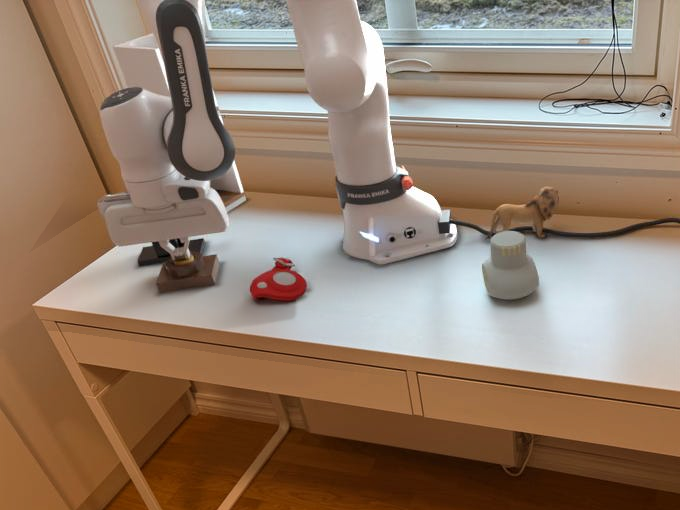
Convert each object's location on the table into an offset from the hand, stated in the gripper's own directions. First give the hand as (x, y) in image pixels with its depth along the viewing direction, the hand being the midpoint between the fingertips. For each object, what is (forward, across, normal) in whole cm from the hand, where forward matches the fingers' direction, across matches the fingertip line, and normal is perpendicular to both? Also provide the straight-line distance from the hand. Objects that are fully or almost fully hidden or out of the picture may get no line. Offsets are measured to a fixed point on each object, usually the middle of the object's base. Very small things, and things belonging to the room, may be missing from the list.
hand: (182, 258), depth 129 cm
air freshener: (+4, +57, -22) cm, 62 cm away
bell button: (+2, 0, 0) cm, 2 cm away
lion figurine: (+4, +64, -3) cm, 64 cm away
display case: (+4, 0, +32) cm, 32 cm away
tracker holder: (+4, +18, -9) cm, 21 cm away
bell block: (+4, 0, 0) cm, 4 cm away
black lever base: (+4, -5, +11) cm, 13 cm away
